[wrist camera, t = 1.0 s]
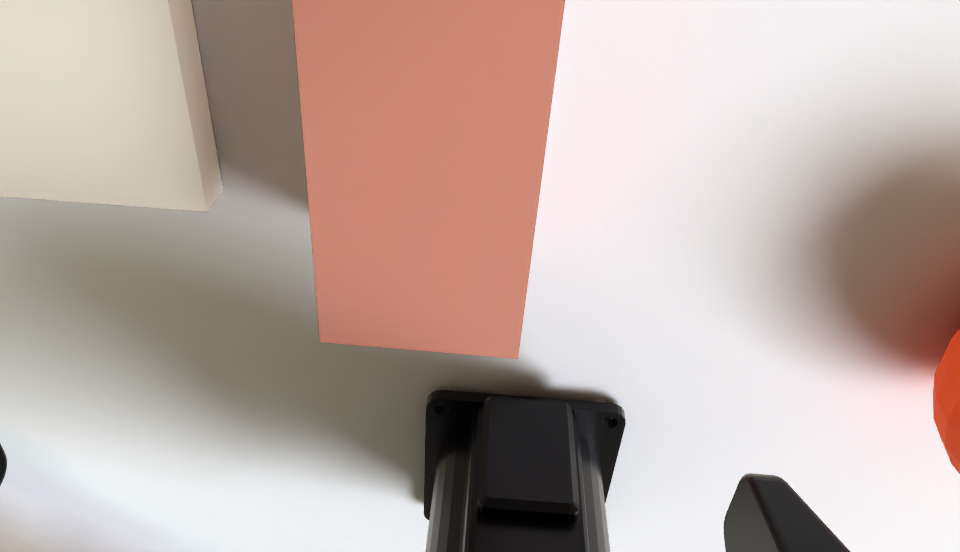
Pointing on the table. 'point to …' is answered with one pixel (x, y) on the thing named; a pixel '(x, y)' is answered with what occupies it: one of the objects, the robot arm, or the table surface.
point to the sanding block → (425, 166)
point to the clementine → (949, 400)
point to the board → (105, 104)
